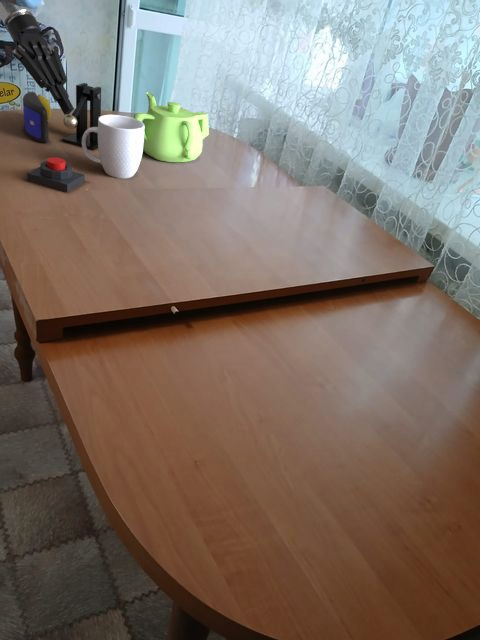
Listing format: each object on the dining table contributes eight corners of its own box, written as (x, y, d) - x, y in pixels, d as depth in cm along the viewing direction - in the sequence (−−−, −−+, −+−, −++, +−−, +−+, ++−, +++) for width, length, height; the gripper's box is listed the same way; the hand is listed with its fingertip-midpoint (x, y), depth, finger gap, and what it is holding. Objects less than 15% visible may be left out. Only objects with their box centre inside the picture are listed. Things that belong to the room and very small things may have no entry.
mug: (77, 175, 134) (76, 120, 126) (86, 160, 143) (86, 108, 135) (138, 185, 136) (141, 132, 129) (144, 170, 145) (147, 119, 137)
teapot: (193, 172, 151) (199, 118, 143) (123, 155, 151) (125, 100, 142) (207, 153, 166) (213, 103, 158) (143, 137, 166) (146, 87, 158)
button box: (27, 182, 125) (26, 165, 123) (46, 172, 132) (46, 156, 129) (67, 193, 125) (67, 177, 122) (84, 183, 131) (84, 167, 129)
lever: (75, 133, 142) (71, 123, 139) (63, 129, 143) (59, 119, 140) (98, 96, 148) (95, 86, 145) (86, 93, 148) (83, 82, 145)
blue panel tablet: (20, 124, 154) (17, 89, 149) (37, 125, 156) (35, 90, 151) (31, 145, 144) (28, 107, 138) (49, 145, 146) (47, 108, 140)
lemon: (48, 128, 157) (47, 98, 152) (28, 124, 156) (26, 94, 151) (53, 122, 161) (52, 94, 156) (34, 119, 160) (32, 90, 156)
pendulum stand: (92, 151, 149) (93, 94, 140) (62, 143, 149) (61, 85, 141) (113, 141, 158) (114, 87, 150) (84, 133, 159) (84, 78, 150)
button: (43, 168, 125) (43, 160, 124) (53, 163, 128) (52, 155, 127) (59, 172, 124) (59, 165, 123) (68, 167, 128) (68, 160, 126)
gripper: (35, 31, 143) (81, 116, 148) (-10, 30, 133) (41, 122, 138) (48, 12, 138) (95, 101, 143) (3, 11, 129) (55, 106, 133)
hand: (69, 111), depth 140 cm, fingers closed
